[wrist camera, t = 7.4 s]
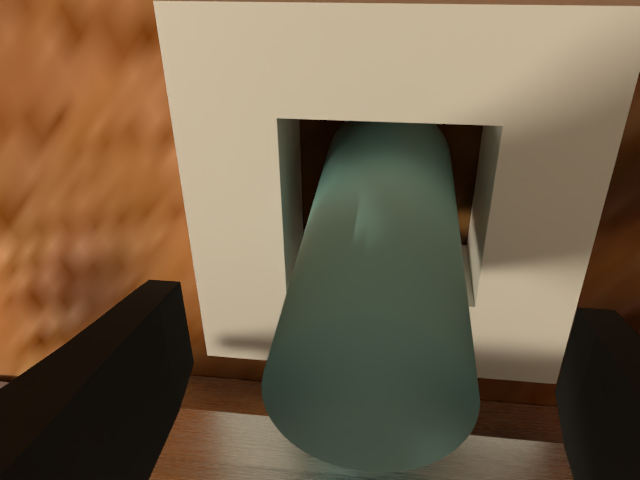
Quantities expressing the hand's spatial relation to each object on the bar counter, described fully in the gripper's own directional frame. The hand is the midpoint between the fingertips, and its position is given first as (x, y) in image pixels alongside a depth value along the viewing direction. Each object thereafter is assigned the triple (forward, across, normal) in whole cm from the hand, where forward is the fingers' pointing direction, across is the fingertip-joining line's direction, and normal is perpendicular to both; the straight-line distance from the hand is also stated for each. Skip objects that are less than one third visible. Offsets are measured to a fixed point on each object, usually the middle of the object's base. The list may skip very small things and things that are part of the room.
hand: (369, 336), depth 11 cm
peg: (+7, 0, 0) cm, 7 cm away
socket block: (+7, 0, 0) cm, 7 cm away
